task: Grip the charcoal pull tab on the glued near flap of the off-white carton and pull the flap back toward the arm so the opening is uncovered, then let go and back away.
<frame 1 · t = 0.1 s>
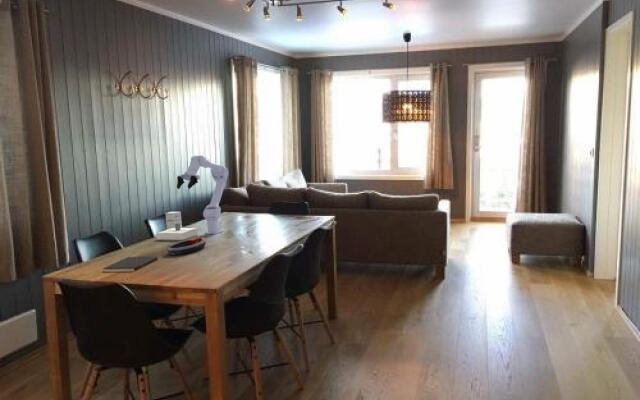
hand: (183, 187, 314), 32 cm above the table, tool tilted 50°, fingers open, 7 cm apart
flap: (180, 226, 336), point 6 cm above the table, slide at 0.0 cm
supplement box: (174, 231, 361), on the table
carton: (177, 237, 333), on the table
dish: (188, 250, 292), on the table
hardcover book: (131, 267, 262), on the table
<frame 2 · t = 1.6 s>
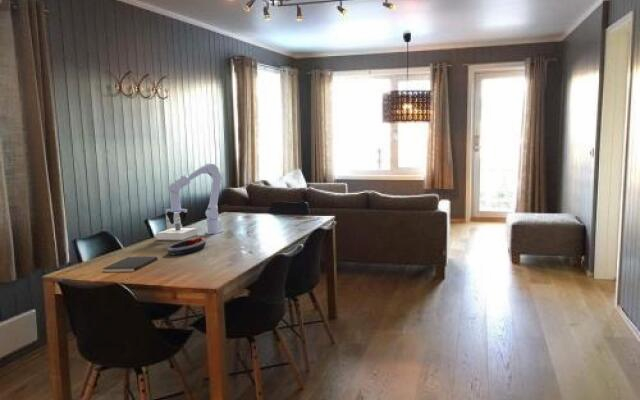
hand: (177, 223, 333), 9 cm above the table, tool pointing down, fingers open, 7 cm apart
nothing on the table moved.
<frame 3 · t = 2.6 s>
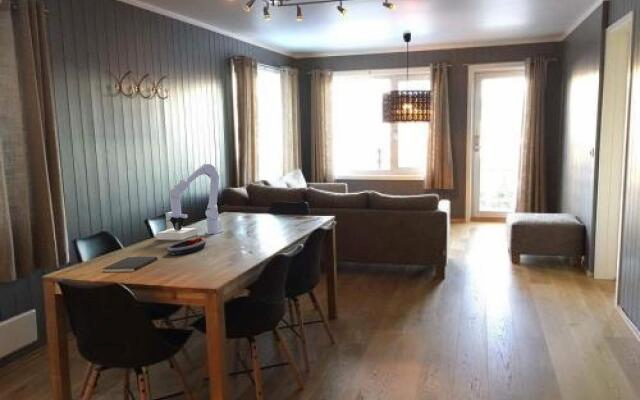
hand: (177, 229, 333), 5 cm above the table, tool pointing down, fingers closed on flap, 2 cm apart
flap: (180, 226, 336), point 6 cm above the table, slide at 0.0 cm, touching gripper
everything else where it was.
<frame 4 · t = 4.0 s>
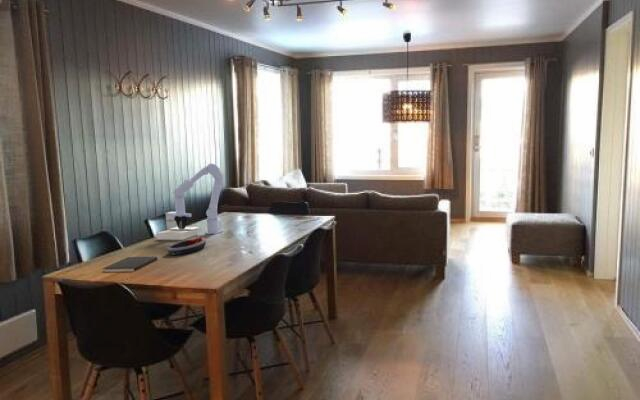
hand: (181, 228, 337), 5 cm above the table, tool pointing down, fingers closed on flap, 2 cm apart
flap: (184, 225, 339), point 6 cm above the table, slide at 4.1 cm, touching gripper
everything else where it was.
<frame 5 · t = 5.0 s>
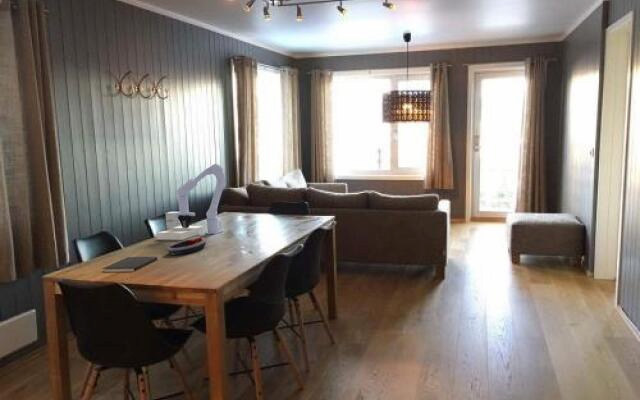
hand: (185, 227, 340), 5 cm above the table, tool pointing down, fingers closed on flap, 2 cm apart
flap: (188, 224, 343), point 6 cm above the table, slide at 7.9 cm, touching gripper
everything else where it was.
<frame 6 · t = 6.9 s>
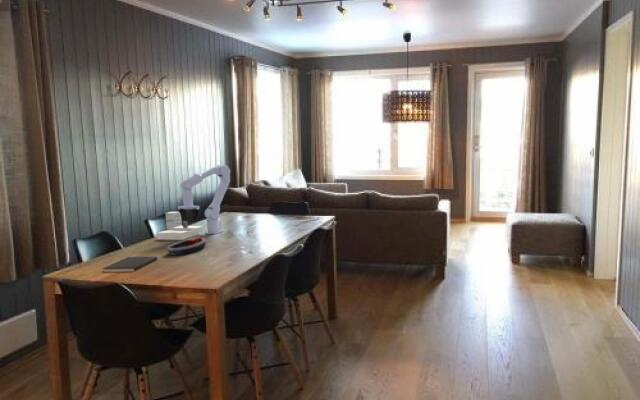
hand: (189, 220, 333), 10 cm above the table, tool pointing down, fingers open, 7 cm apart
flap: (188, 224, 343), point 6 cm above the table, slide at 8.0 cm
everything else where it was.
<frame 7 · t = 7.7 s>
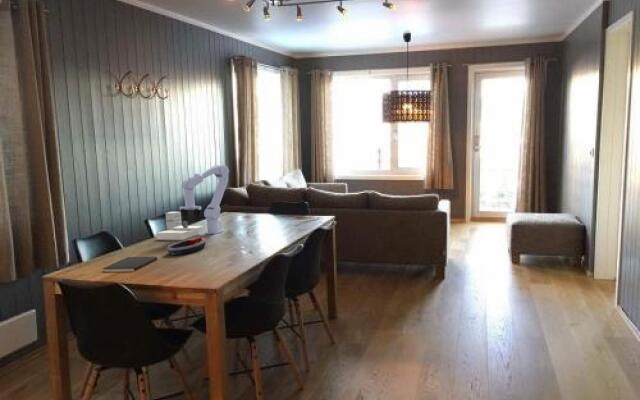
hand: (191, 221, 331), 10 cm above the table, tool pointing down, fingers open, 7 cm apart
nothing on the table moved.
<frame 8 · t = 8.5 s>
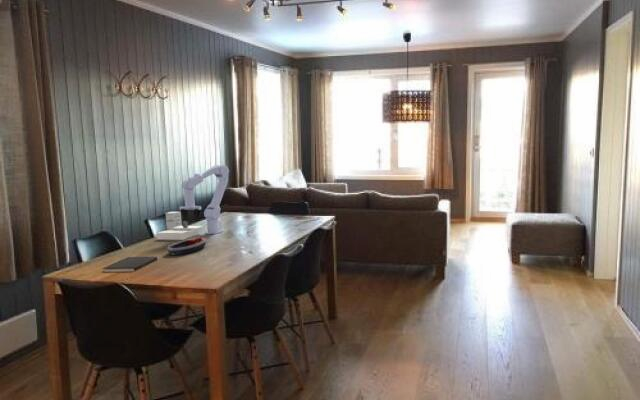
hand: (191, 221, 331), 10 cm above the table, tool pointing down, fingers open, 7 cm apart
nothing on the table moved.
at the end: flap slide at 8.0 cm; the gripper is holding nothing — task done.
